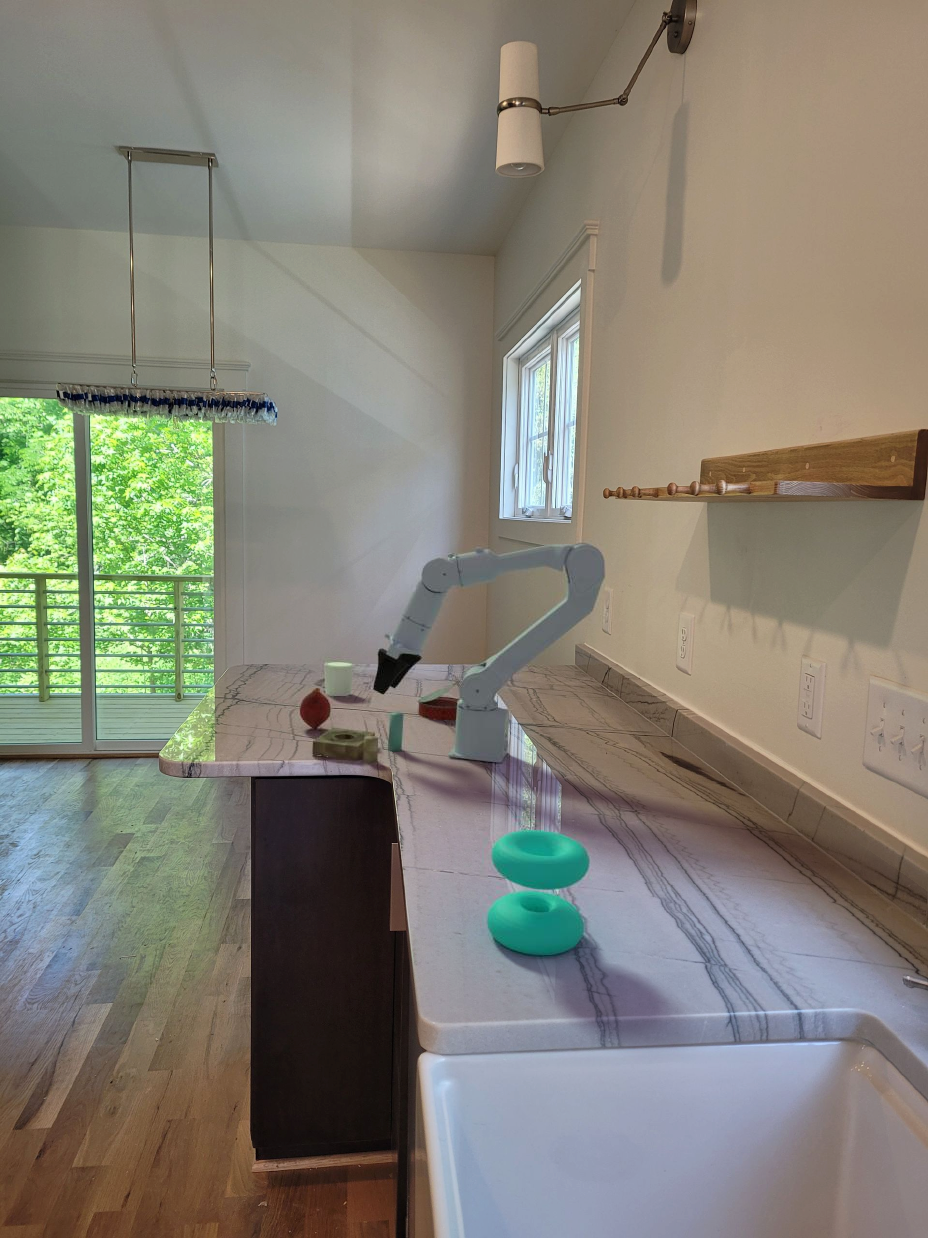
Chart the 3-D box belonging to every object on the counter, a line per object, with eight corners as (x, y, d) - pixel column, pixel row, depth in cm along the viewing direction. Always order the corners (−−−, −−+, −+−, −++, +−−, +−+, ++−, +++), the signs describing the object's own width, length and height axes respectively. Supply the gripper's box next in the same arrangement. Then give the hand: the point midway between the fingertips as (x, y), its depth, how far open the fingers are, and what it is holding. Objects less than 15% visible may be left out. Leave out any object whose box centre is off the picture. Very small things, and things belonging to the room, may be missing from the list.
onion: (323, 734, 164) (325, 692, 163) (294, 730, 165) (295, 689, 164) (333, 726, 169) (335, 686, 168) (305, 723, 170) (307, 683, 169)
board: (374, 746, 158) (374, 732, 157) (357, 761, 148) (357, 746, 148) (331, 741, 159) (332, 727, 159) (312, 755, 149) (312, 741, 149)
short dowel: (378, 759, 149) (380, 737, 149) (374, 763, 147) (376, 740, 147) (365, 758, 150) (366, 735, 149) (361, 762, 148) (362, 738, 147)
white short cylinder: (359, 694, 199) (361, 664, 199) (339, 698, 194) (341, 667, 193) (336, 689, 203) (337, 659, 202) (316, 693, 197) (317, 663, 196)
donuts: (599, 865, 85) (497, 861, 84) (591, 962, 86) (490, 959, 85) (580, 828, 95) (488, 824, 94) (573, 915, 96) (482, 912, 95)
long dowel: (403, 748, 157) (405, 713, 157) (399, 751, 155) (401, 716, 154) (390, 746, 158) (392, 711, 157) (386, 750, 155) (388, 714, 155)
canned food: (443, 743, 180) (431, 704, 176) (413, 727, 188) (401, 689, 183) (482, 714, 186) (472, 675, 181) (452, 699, 193) (441, 662, 188)
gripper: (407, 608, 162) (376, 673, 163) (386, 612, 147) (352, 683, 149) (440, 625, 161) (409, 690, 163) (422, 631, 146) (388, 702, 148)
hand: (384, 688), depth 156 cm, fingers open, 7 cm apart
